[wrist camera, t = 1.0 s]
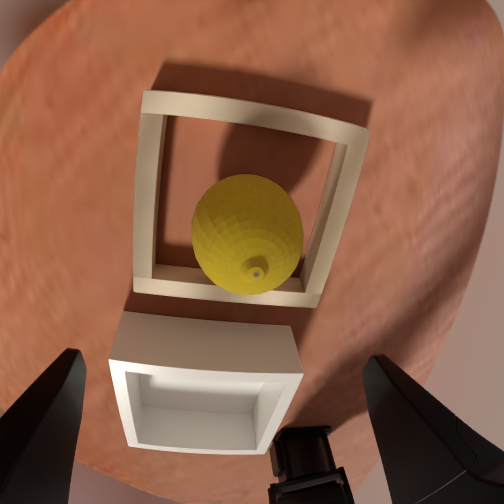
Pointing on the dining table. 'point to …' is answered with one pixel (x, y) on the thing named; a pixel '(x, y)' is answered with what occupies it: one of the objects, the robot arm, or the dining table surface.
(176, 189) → the dining table surface
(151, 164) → the rectangular frame
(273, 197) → the lemon
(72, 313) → the dining table surface
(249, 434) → the bin
